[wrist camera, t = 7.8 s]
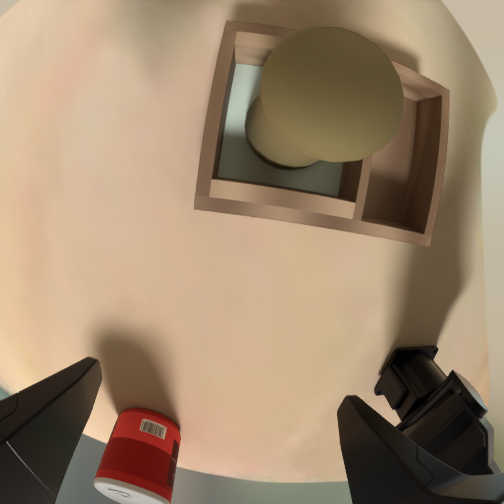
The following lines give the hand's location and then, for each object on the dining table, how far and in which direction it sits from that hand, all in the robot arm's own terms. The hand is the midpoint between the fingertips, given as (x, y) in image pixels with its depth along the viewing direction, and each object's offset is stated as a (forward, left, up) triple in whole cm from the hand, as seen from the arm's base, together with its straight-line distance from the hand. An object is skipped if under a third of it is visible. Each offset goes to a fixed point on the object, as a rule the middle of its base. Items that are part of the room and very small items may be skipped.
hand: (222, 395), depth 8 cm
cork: (-2, -11, -12) cm, 16 cm away
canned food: (+8, +22, -13) cm, 27 cm away
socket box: (-5, -11, -13) cm, 17 cm away
